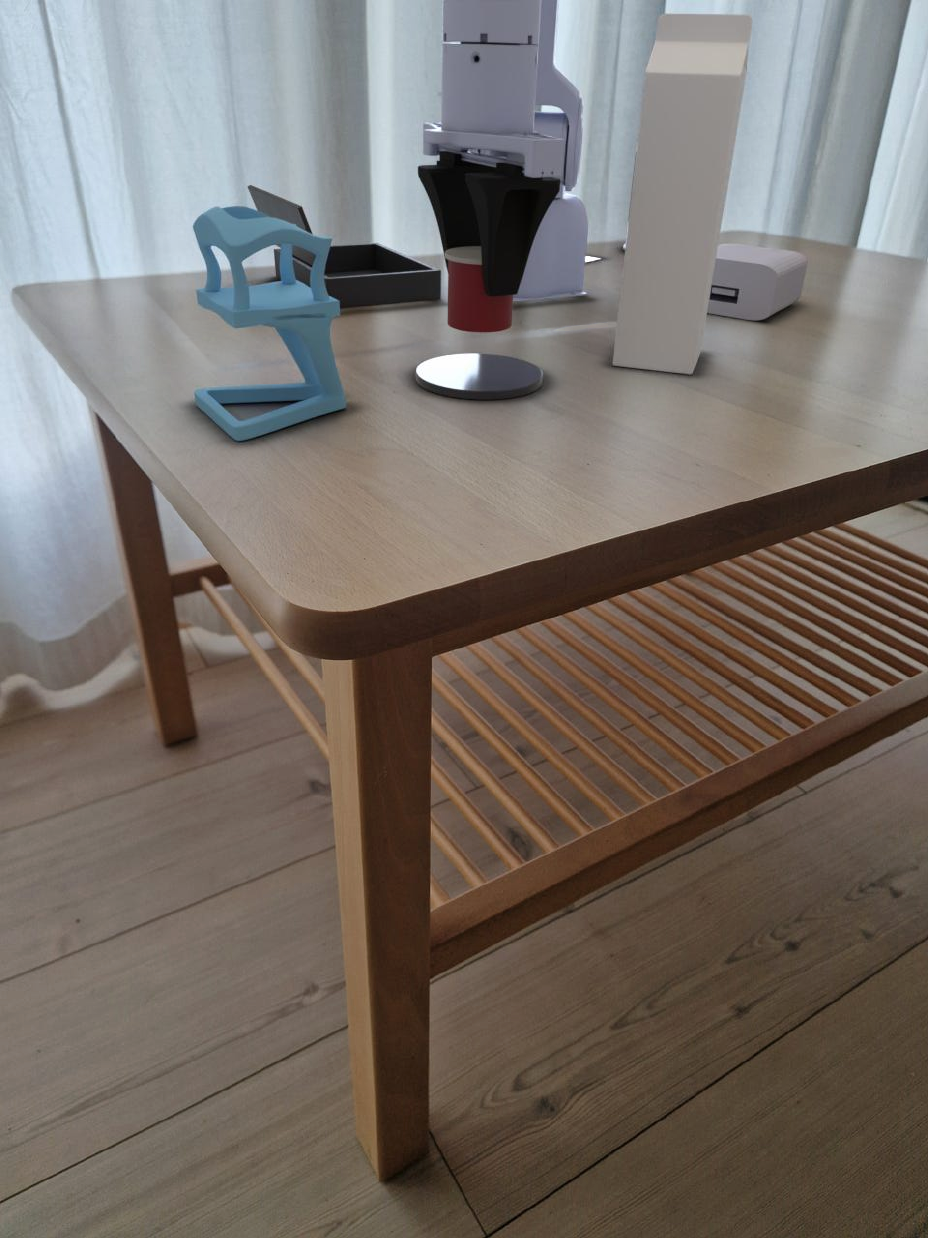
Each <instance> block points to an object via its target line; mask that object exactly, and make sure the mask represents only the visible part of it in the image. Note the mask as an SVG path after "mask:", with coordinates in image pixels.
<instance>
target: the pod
mask: <svg viewBox="0 0 928 1238" xmlns="http://www.w3.org/2000/svg"><path fill="white" fill-rule="evenodd" d="M445 258H446V259H448V271H447V325H448V327H450V328H452V329H455V330H458V331H463V332H468V333H497V332H503V331H505V330H508V329H510V328H511V327H512V325H513V309H514V302H513V295H505V296H494V297H491V296H488V295H486V292H485V288H484V283H483V275H482V256H481V246H467V247H457V248H451V249H448V250H446V251H445V257H444V259H445Z"/></svg>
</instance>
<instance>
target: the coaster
mask: <svg viewBox="0 0 928 1238" xmlns="http://www.w3.org/2000/svg"><path fill="white" fill-rule="evenodd" d="M543 379H544V373H543V371H542V370H541V368H540V367H538V366H537V365H536V364H535V363H533V362H532V363H531V362H529V361H526V360H524V359H521V358H516V357H512V356H507V355H502V354H501V355H500V354H492V353H456V354H447V355H441V356H436V357H432V358H430V359H427V360H425V361H423V362H421V363H419V364H418V365H417V366H416V368H415V382H416V383H417V384H418V386H420V387H421V388H422V389H424V390H426V391H429V392H431V393H434V394H437V395H441V396H446V397H450V398H456V399H462V400H463V399H465V400H477V401H479V400H480V401H481V400H483V401H489V400H491V401H492V400H494V401H495V400H504V399H506V400H507V399H512V398H517V397H518V398H519V397H523V396H526V395H529V394H532V393H533V392H535V391H537V390H539V388H541V386H542V385H543V381H544V380H543Z"/></svg>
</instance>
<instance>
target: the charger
mask: <svg viewBox="0 0 928 1238" xmlns="http://www.w3.org/2000/svg"><path fill="white" fill-rule="evenodd" d="M808 265H809V261H808V259H807V257H806V256H805V255H804V254H803V253H800V252H798V251H794V250H788V249H780V248H772V247H766V246H765V247H764V246H755V245H748V244H741V243H729V242H726V243H721V244H718V249H717V255H716V261H715V267H714V273H713V279H712V285H711V292H710V298H709V304H708V310H707V314H710V315H717V316H722V317H728V318H735V319H740V320H746V321H763V320H765V319H767V318H769V317H771V316H773V315H774V314H776V313H778V312H779V311H781V310H783V309H785V308H787V307H789V306H791V305H792V304H794V303H796V302H798V301H799V300H800V298H801V296H802V293H803V288H804V282H805V278H806V273H807V269H808Z"/></svg>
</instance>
